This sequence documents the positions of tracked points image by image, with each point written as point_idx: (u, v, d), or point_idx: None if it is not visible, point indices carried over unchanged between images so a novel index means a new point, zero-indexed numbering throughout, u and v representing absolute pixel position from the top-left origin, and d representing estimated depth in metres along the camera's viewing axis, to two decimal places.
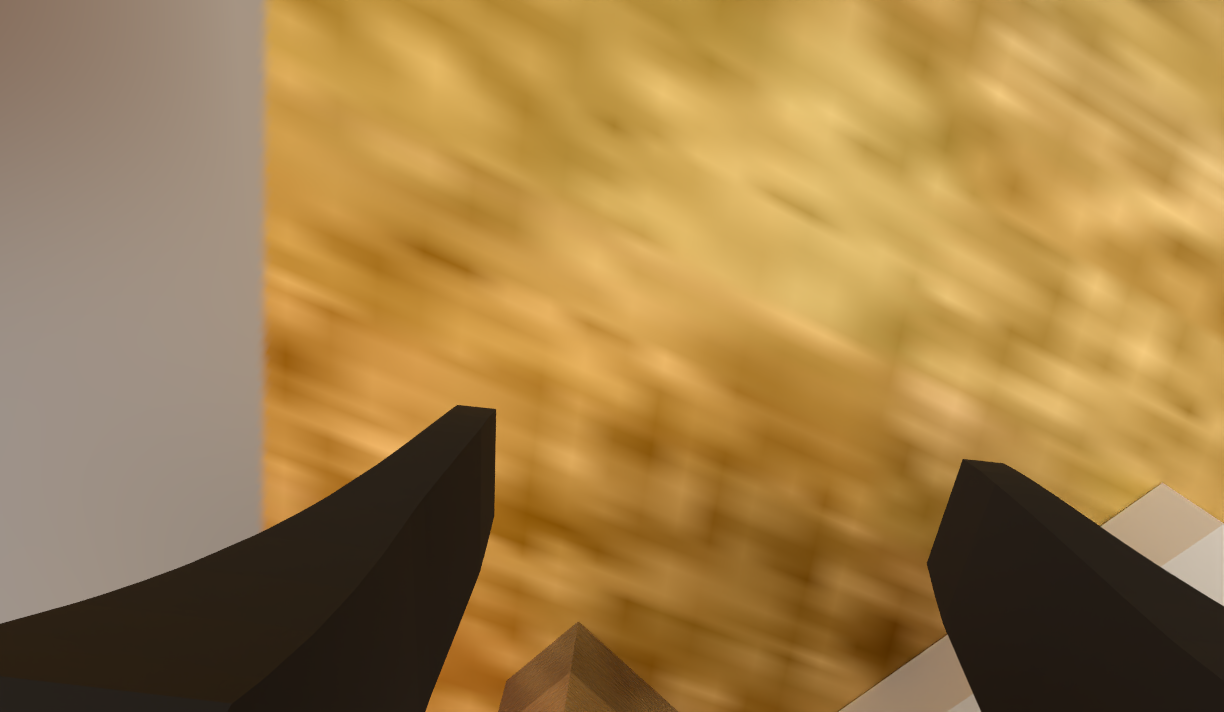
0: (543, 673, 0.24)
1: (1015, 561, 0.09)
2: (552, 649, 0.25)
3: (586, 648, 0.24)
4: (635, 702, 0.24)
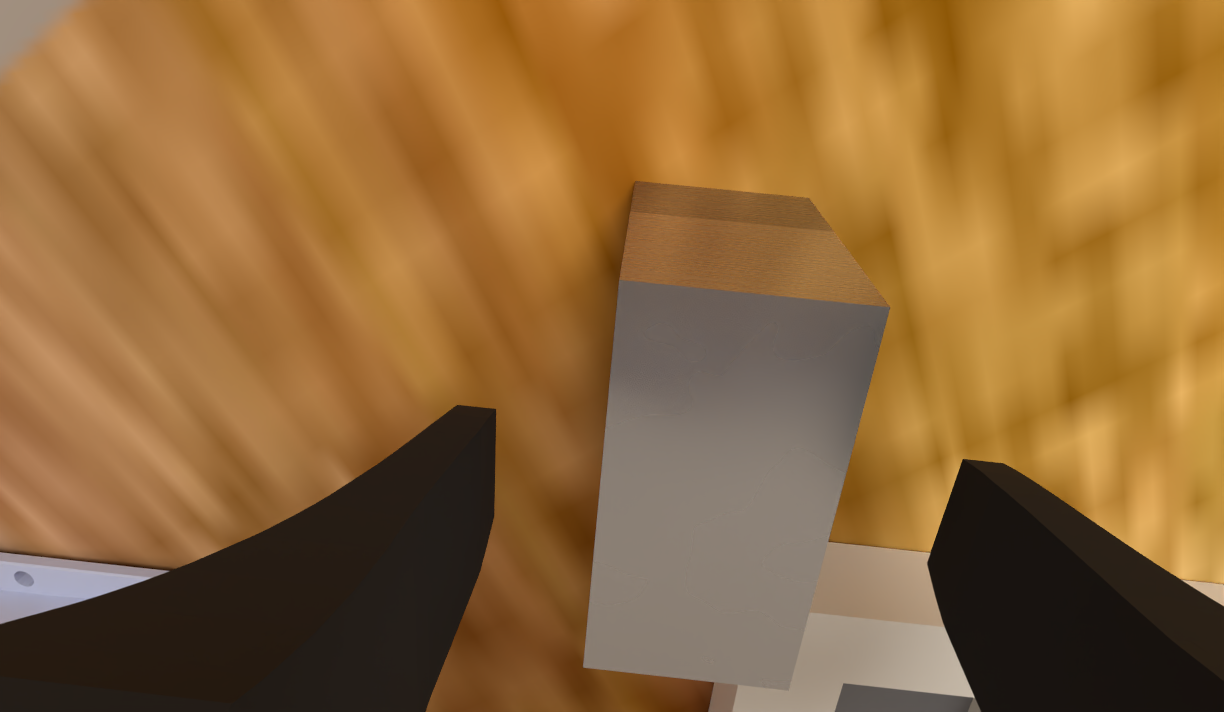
0: (746, 208, 0.14)
1: (1015, 561, 0.09)
2: (753, 197, 0.15)
3: None
4: None
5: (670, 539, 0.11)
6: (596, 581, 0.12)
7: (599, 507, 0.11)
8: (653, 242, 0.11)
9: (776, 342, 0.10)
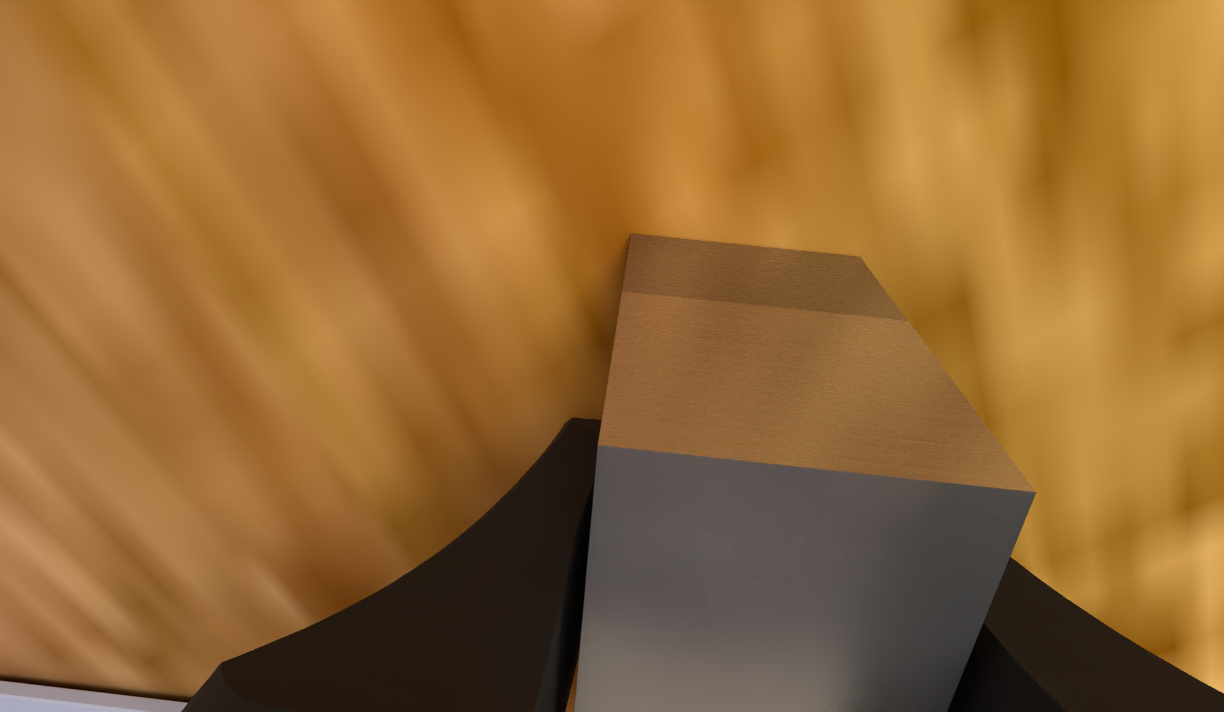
0: (782, 279, 0.10)
1: None
2: (788, 258, 0.11)
3: None
4: None
5: None
6: None
7: None
8: (653, 353, 0.08)
9: (847, 539, 0.06)
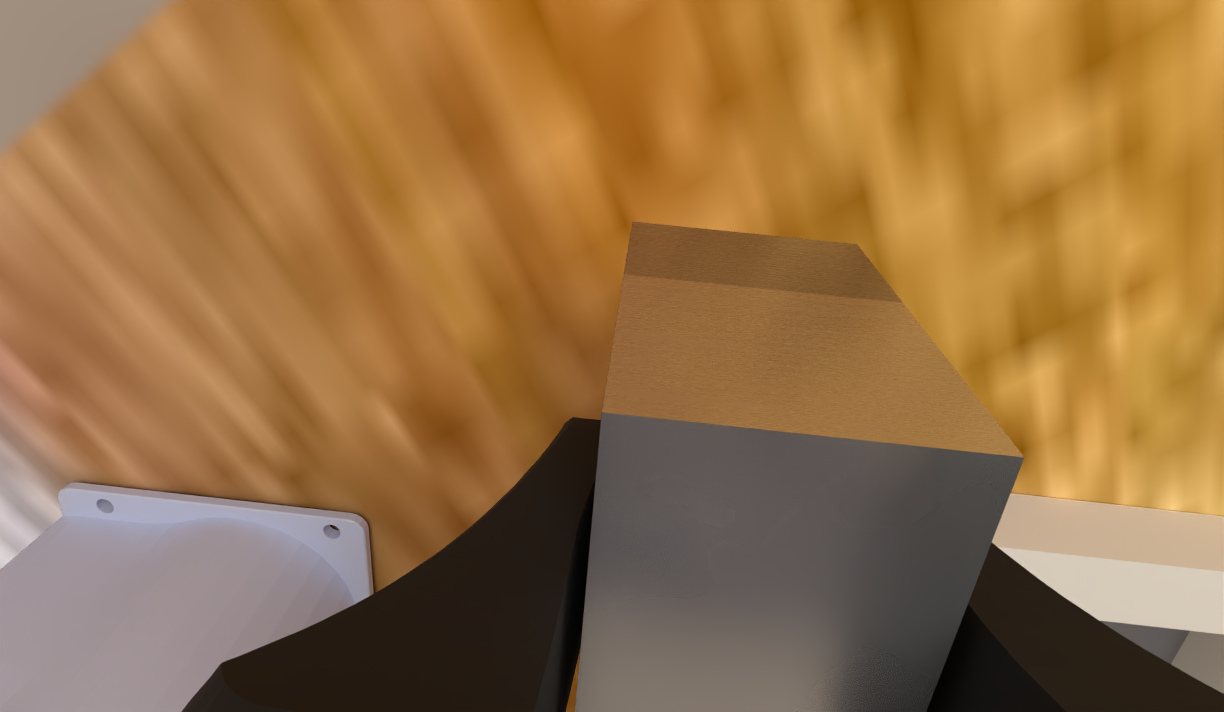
0: (780, 264, 0.10)
1: None
2: (786, 245, 0.11)
3: None
4: None
5: None
6: None
7: None
8: (655, 331, 0.08)
9: (842, 503, 0.06)
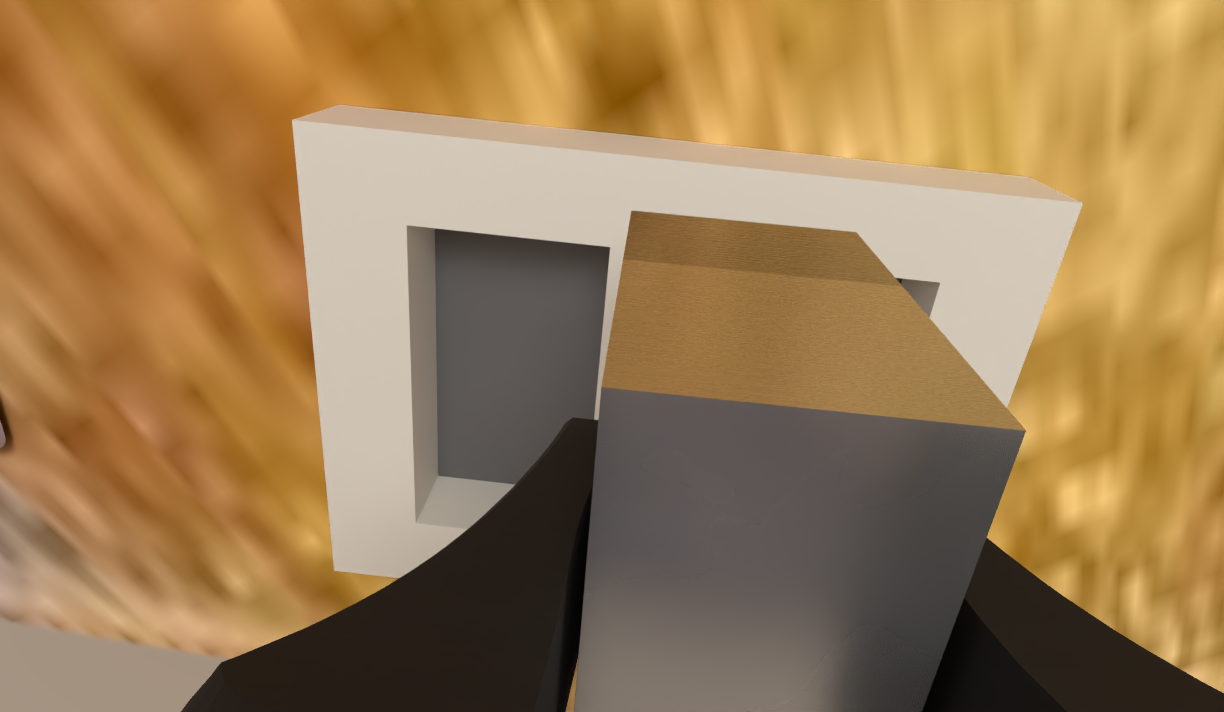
0: (780, 250, 0.10)
1: None
2: (785, 232, 0.11)
3: None
4: None
5: None
6: None
7: (577, 696, 0.08)
8: (654, 311, 0.08)
9: (844, 480, 0.06)
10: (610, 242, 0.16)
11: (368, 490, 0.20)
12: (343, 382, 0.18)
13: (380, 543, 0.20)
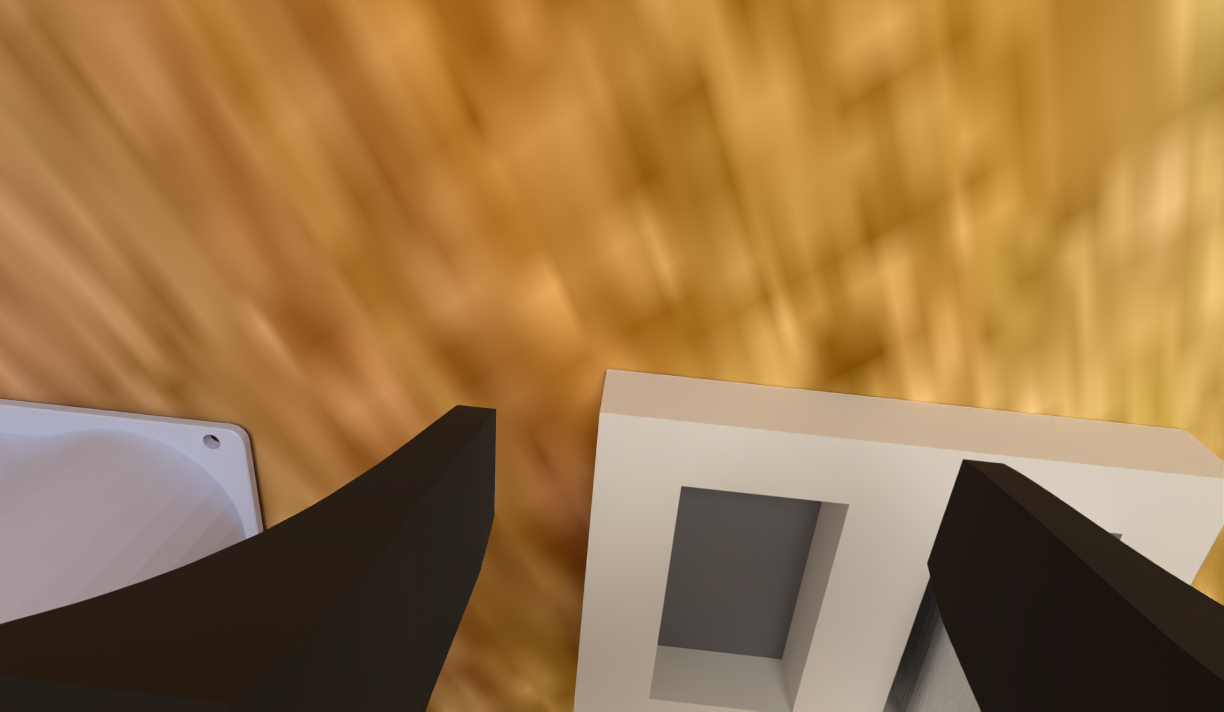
0: None
1: (1015, 560, 0.09)
2: None
3: None
4: None
5: None
6: None
7: None
8: None
9: None
10: (850, 500, 0.20)
11: (612, 674, 0.23)
12: (606, 595, 0.22)
13: None
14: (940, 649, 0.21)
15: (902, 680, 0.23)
